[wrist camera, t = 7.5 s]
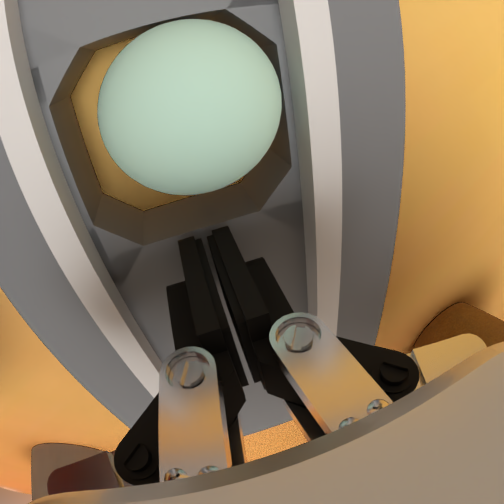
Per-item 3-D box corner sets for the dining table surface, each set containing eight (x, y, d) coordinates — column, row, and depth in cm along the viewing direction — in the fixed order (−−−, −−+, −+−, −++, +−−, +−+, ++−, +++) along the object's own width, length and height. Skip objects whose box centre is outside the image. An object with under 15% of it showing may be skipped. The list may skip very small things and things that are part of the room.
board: (347, 367, 24) (367, 400, 21) (160, 428, 22) (167, 466, 19) (345, -63, 7) (401, -82, 4) (-55, 40, 5) (-108, 47, 2)
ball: (186, 16, 9) (324, 49, 8) (162, 137, 12) (276, 185, 11) (70, 12, 5) (261, 29, 4) (62, 184, 8) (201, 263, 7)
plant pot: (482, 241, 21) (606, 372, 8) (490, 304, 29) (565, 395, 17) (354, 364, 24) (446, 521, 12) (402, 387, 33) (464, 487, 20)
